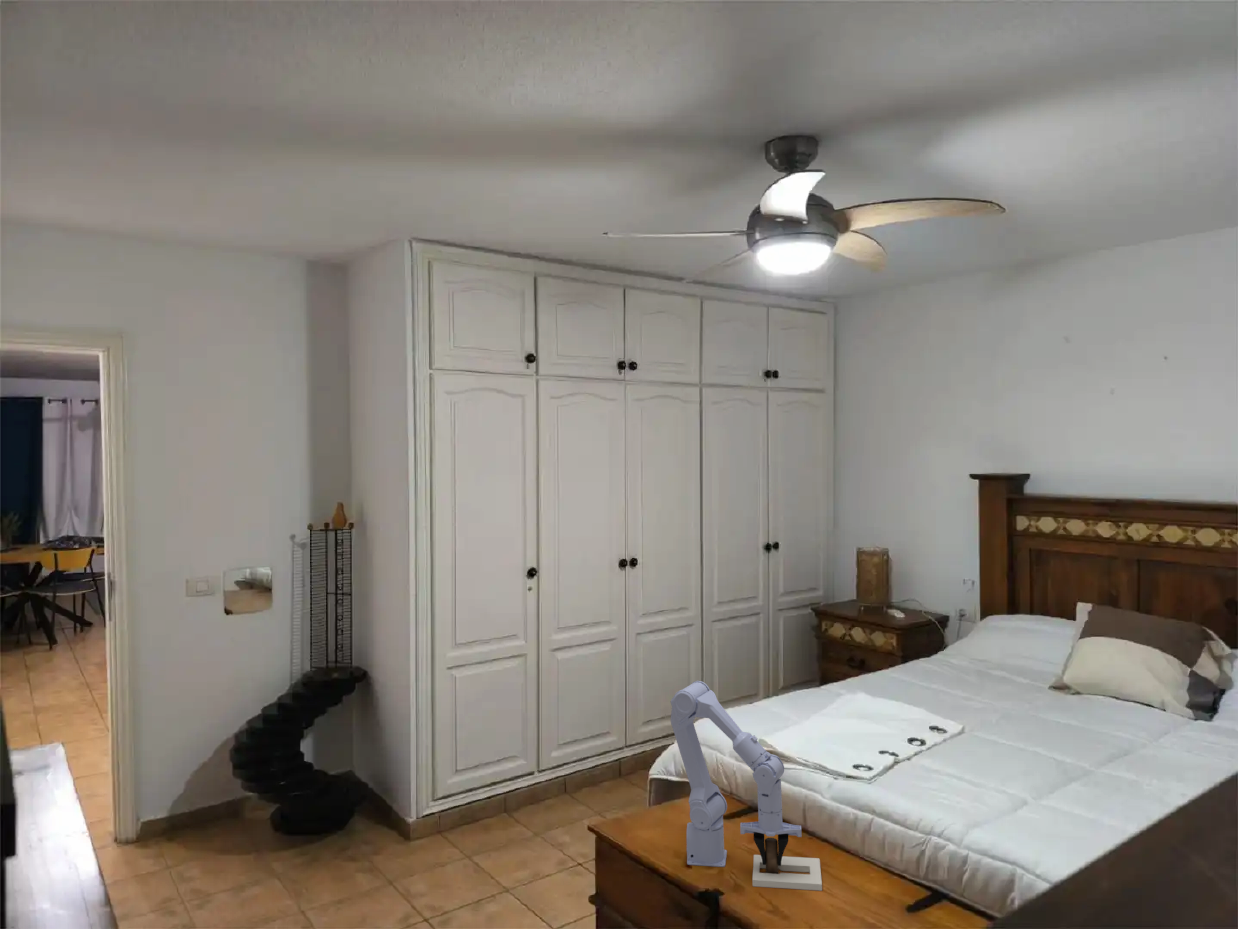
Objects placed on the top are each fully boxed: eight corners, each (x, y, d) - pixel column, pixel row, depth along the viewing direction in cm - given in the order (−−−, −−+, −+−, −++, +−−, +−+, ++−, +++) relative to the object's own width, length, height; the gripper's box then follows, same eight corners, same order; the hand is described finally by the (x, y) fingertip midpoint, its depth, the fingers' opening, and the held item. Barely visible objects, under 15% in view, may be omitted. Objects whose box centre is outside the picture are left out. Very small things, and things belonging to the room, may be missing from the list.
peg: (765, 876, 202) (764, 843, 202) (766, 869, 205) (764, 837, 205) (778, 876, 201) (777, 843, 201) (778, 870, 204) (777, 838, 204)
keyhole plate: (752, 886, 198) (752, 880, 198) (754, 860, 210) (753, 854, 210) (822, 890, 195) (821, 884, 195) (819, 864, 207) (819, 858, 207)
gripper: (739, 814, 200) (741, 870, 200) (801, 817, 197) (802, 873, 197) (740, 801, 207) (742, 855, 207) (800, 804, 204) (802, 858, 204)
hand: (771, 863), depth 203 cm, fingers closed on peg, 3 cm apart
